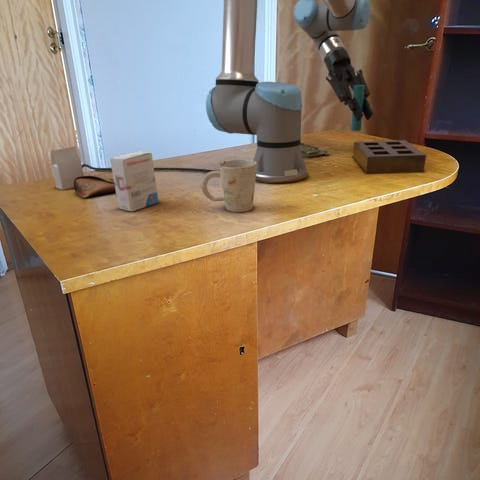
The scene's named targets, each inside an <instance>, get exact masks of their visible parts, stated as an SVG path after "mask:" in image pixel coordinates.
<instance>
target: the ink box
mask: <svg viewBox="0 0 480 480" xmlns="http://www.w3.org/2000/svg"><path fill="white" fill-rule="evenodd" d="M109 161H110V168H112V171H111V172H112V173H113V178H114V184H115V189H116V192H115V194H116V200H117V205H118V209H119V210H123V211H127V212H135V211H138V210H142V209H144V208H147V207H150V206H152V205H156V204H158V203H159V195H158V190H157V181H156V173H155V170H154V168H155V167H154V160H153V153H152V152H149V151H134V152H130V153H126V154H122V155H121V154H120V155H117V156H113V157H110V158H109Z"/></svg>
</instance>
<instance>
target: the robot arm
mask: <svg viewBox="0 0 480 480" xmlns="http://www.w3.org/2000/svg"><path fill="white" fill-rule="evenodd" d="M258 2H259V1H258V0H223V13H222V14H223V15H222V18H223V19H222V43H221V44H222V45H221V46H222V47H221V71H220V73H219V74H218V75H217V76H216V77H215V85H214V86H213V87H211V89H210V90H209V91H208V94H207V96H206V99H205V110H206V115H207V118H208V121H209V122H210V123H211V125H212V127H213V128H214V129H215V130H217V131H219V132H221V133H227V134H230V135H231V134H237V135H238V134H239V135H250V136H251V135H252V136H256V150H255V154H254V157H253V161H256V162H257V170H256V180H255V182H258V183H264V184H265V183H266V184H288V183H295V182H298V181H302V180H304V179H306V178H307V171H308V170H307V165H306V163H305V157H303V155H302V151H301V147H300V143H301V135H302V110H303V109H302V108H303V104H302V92H301V89H300V88H299V87H298V86H296V85H294V84H291V83H286V82H279V81H277V82H276V81H259V79H258V78H257V76H256V75H255V73H254V72H255V55H256V54H255V53H256V35H257V18H258ZM370 5H371V4H370V2H369V1H368V0H323V2H317V1H316V0H298V1H297V2H296V4H295V6H294V8H293V19H294V21H295V23H296V24H297V25H298V27H299V28H300V29H301V30H303V31H304V32H305V34H307V36H308V37H309V38H310V39H311V40H312V42H314V44H315V46H316V48H317V50H318V52H319V54H320V57H321V58H322V61H323V63H324V65H325V67H326V70H327V72H328V73H327V75H326V76H325V80H326V81H327V82H328V83H329V84H330V86H331V88H332V90H333V91H334V93H335V96H336V97H337V99H338V101H339V102H340V103H343V102H344V103H343V105H344V106H348V108H349V111H351V113H352V112H353V114H354V116H355V118H356V120H357V121H359V120H360V119H361V118H362V119H363V116H364V117H365V119H366V121H369V120H370V119H371V118H372V116H373V115H374V113H373V110H372V108H371V105H370V102H369V100H368V98H369V97H370V95H371V92H370V89H369V87H368V85H367V82H366V79H365V77H364V74H363V70H362V69H359V70H356V69H355V67H354V66H353V65H352V61H351V60H352V59H351V56H350V54H349V53H348V51H347V49H346V47H345V45H344V43H343V41H342V39H341V37H340V35H339V33H338V32H339V31H341V32H344V31H351V32H353V31H358V30H359V31H360V30H363V29H365V28H366V27H367V26H368V24H369V21H370V17H371V6H370ZM354 85H365V88H364V100H363V112H362V111H361V109H360V107H359V105H358V103H357V101H356V99H355V98H353V95H352V94H353V93H354ZM351 90H352V92H353V93H352V92H351ZM84 167H85V168H88V169H90V170H93V171H104V172H105V171H106V172H107V171H110V172H112V167H94V166H91V165H89V164H87V163H83V164H82V169H83V168H84ZM154 171H189V172H202V173H209V172H213V171H217V170H215V169H206V168H194V167H193V168H192V167H154Z"/></svg>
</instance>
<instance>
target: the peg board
mask: <svg viewBox="0 0 480 480" xmlns="http://www.w3.org/2000/svg"><path fill="white" fill-rule="evenodd" d="M352 149H353V151H352V157H353V159H354V160H355V161H356V162H357V163H358V165H359V166H360V167H361V169H362V170H363V171H364V172H365V174H392V173H393V174H399V173H401V174H402V173H424V172H425V166H426V159H427V154H426V153H424V152H423V151H422V150H419V149H418V148H417V147H416V146H414V145H412V144H411V143H410V142H408V141H407V140H405V139H396V140H395V139H394V140H393V139H392V140H368V141H367V140H363V141H362V140H361V141H353V148H352Z"/></svg>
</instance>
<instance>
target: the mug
mask: <svg viewBox="0 0 480 480" xmlns="http://www.w3.org/2000/svg"><path fill="white" fill-rule="evenodd" d="M256 170H257V162H256V161H254V159H253V160H252V159H247V158H246V159H243V158H240V159H239V158H237V159H228V160H227V159H226V160H223V161H220V162H219V164H218V170H216V171H213V172H206V174H205V175H204V176H203V178H202V180H201V183H200V185H201V192H202V193H203V195H204V196H205V197H206V198H207V199H209V200H210V201H212V202H223V201H224V203H225V209H226V210H227V211H229V212H232V213H244V212H245V213H246V212H248V211H251V210H252V209H253V207H254V201H255V199H254V198H255V191H256V190H255V188H256ZM212 178H220V182H221V188H222V193H223V196H219V197H215V196H213V195H212V194H211V192H209V190H208V183H209V181H210V180H211V179H212Z"/></svg>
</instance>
